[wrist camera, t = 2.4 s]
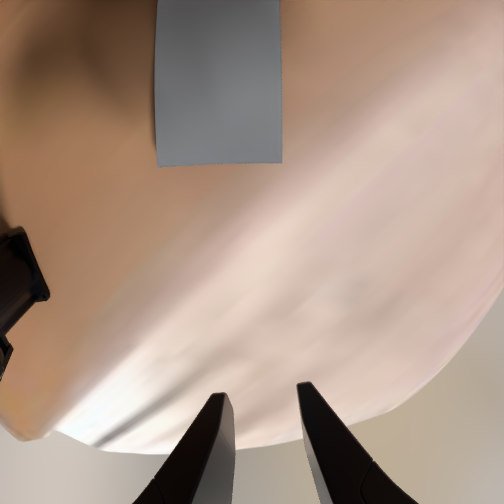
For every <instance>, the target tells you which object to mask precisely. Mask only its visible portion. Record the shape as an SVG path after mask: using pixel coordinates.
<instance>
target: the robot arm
mask: <svg viewBox="0 0 504 504" xmlns="http://www.w3.org/2000/svg"><path fill="white" fill-rule="evenodd" d="M21 238H22V239H21ZM49 298H50V293H49V291H48V289H47V287H46V285H45V282H44V280H43V278H42V276H41V273H40V271H39V268H38V266H37V264H36V261H35V259H34V256H33V254H32V251H31V248H30V246H29V243H28V240H27V237H26V235H25V233H23V232H20V233H17V234H14V235H12V236H8V234H6V233H5V234H2V235H0V381H1V379H2V376H3V374H4V371H5V369H6V366H7V364H8V361H9V359H10V357H11V354H12V352H13V350H14V349H13V347H12V345H11V343H9V342H8V340H7V338H6V336H5V335H6V334H7V332H8V331H9V330H10V329H11V328H12V327H13V326H14V325H15V324H16V322H17V321H18V320H19V319H20V318H21V317H22V316H23V315H24V314H25V313H26V312H27V311H28V310H29V309H30V308H31V306H32V305H33V304H34V303H35V302H41V301H47V300H48V299H49ZM296 386H297V394H298V401H299V409H300V416H301V423H302V430H303V438H304V444H305V449H306V453H307V457H308V461H309V464H310V467H311V471H312V475H313V478H314V481H315V485H316V489H317V492H318V496H319V499H320V503H321V504H418V503H417V502H416V501H415V500H414V499H412V498H411V497H410V496H409V495H408V494H406V493H405V492H404V491H403V490H402V489H401V488H400V487H398V486H397V485H396V484H395V483H394V482H393V481H392V480H391V479H390V478H389V477H388V476H387V474H386V473H385V472H383V470H382V469H381V468H380V467H379V466H378V464H377V463H376V462H375V461H373V459H372V457H371V456H370V455H369V454H368V452H367V451H366V450H365V449H364V448H363V447H362V445H361V444H360V443H359V442H358V440H357V439H356V438H355V437H354V436H353V434H352V433H351V432H350V431H349V429H348V428H347V427H346V426H345V424H344V423H343V422H342V421H341V419H340V418H339V417H338V416H337V414H336V413H335V412H334V411H333V409H332V408H331V407H330V406H329V404H328V403H327V402H326V401H325V399H324V398H323V397H322V396H321V394H320V393H319V392H318V390H317V389H316V388H315V387H314V385H313V384H312V383H311V382H309V381H307V382H302V383H298V384H297V385H296ZM234 468H235V433H234V413H233V408H232V405H231V403H230V400H229V398H228V395H227V394H226V393H225V392H220V393H213V394H212V395H211V396H210V398H209V399H208V400H207V402H206V403H205V405H204V406H203V408H202V409H201V411H200V412H199V414H198V415H197V417H196V418H195V420H194V421H193V423H192V424H191V426H190V427H189V428H188V430H187V431H186V433H185V434H184V436H183V437H182V439H181V440H180V441H179V443H178V444H177V446H176V447H175V448H174V450H173V451H172V453H171V454H170V456H169V457H168V458H167V460H166V461H165V462H164V464H163V465H162V467H161V468H160V469H159V471H158V472H157V474H156V475H155V476H154V479H152V480H151V481H150V483H149V485H148V486H147V487H146V488H145V489H144V491H143V492H142V493H141V494H140V496H139V497H138V498H137V499H136V500H135V501H134V502H133V503H132V504H231V501H232V491H233V479H234Z"/></svg>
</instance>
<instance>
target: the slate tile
mask: <svg viewBox="0 0 504 504" xmlns="http://www.w3.org/2000/svg"><path fill="white" fill-rule="evenodd" d="M155 129H156V150H157V166H158V168H160V167H173V166H189V165H208V164H240V163H282V59H281V24H280V0H158V5H157V19H156V39H155Z"/></svg>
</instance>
